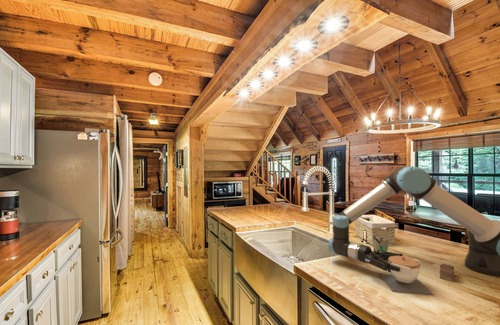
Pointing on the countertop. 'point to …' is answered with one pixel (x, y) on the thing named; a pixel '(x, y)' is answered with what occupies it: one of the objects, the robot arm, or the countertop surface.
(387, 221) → the storage basket
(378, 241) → the food container
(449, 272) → the walnut block
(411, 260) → the lidded jar
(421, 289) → the slate mat
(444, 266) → the walnut block
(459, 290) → the countertop surface
